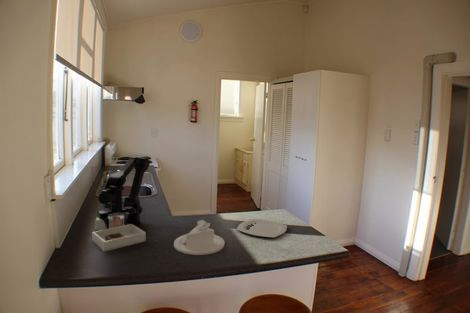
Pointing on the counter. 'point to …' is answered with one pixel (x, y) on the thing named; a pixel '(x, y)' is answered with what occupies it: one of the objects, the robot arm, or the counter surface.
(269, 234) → the plate
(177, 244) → the dish
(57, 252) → the counter surface
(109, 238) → the socket
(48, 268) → the counter surface
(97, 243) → the tray
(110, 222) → the syrup box
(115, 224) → the peg
